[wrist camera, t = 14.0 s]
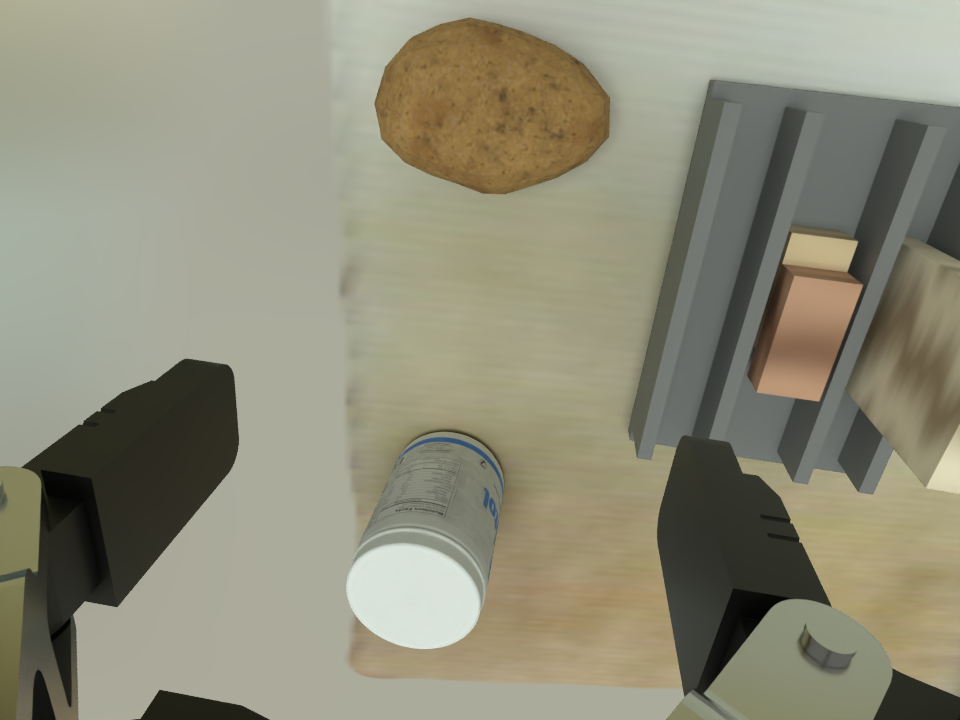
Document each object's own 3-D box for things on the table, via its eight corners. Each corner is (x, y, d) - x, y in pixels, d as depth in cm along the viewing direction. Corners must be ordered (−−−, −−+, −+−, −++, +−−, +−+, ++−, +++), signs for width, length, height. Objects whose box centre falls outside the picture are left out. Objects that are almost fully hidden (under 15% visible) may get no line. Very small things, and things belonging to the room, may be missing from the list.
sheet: (885, 233, 42) (1020, 309, 29) (917, 238, 42) (1066, 317, 29) (829, 370, 46) (925, 488, 33) (857, 375, 46) (965, 495, 33)
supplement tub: (515, 512, 57) (498, 650, 44) (413, 523, 59) (368, 658, 46) (490, 418, 53) (464, 537, 40) (383, 433, 55) (323, 551, 42)
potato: (594, 193, 44) (598, 219, 37) (394, 169, 46) (361, 190, 38) (620, 35, 40) (631, 30, 33) (400, 13, 41) (364, 4, 34)
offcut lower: (780, 223, 42) (791, 232, 40) (843, 231, 42) (858, 241, 40) (746, 335, 46) (755, 349, 43) (804, 343, 45) (816, 357, 43)
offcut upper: (782, 263, 41) (794, 275, 39) (847, 272, 41) (863, 284, 38) (747, 375, 44) (756, 392, 42) (806, 383, 44) (819, 401, 42)
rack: (710, 79, 41) (729, 82, 36) (984, 110, 39) (1043, 117, 34) (628, 430, 52) (634, 469, 47) (839, 462, 51) (867, 505, 46)
